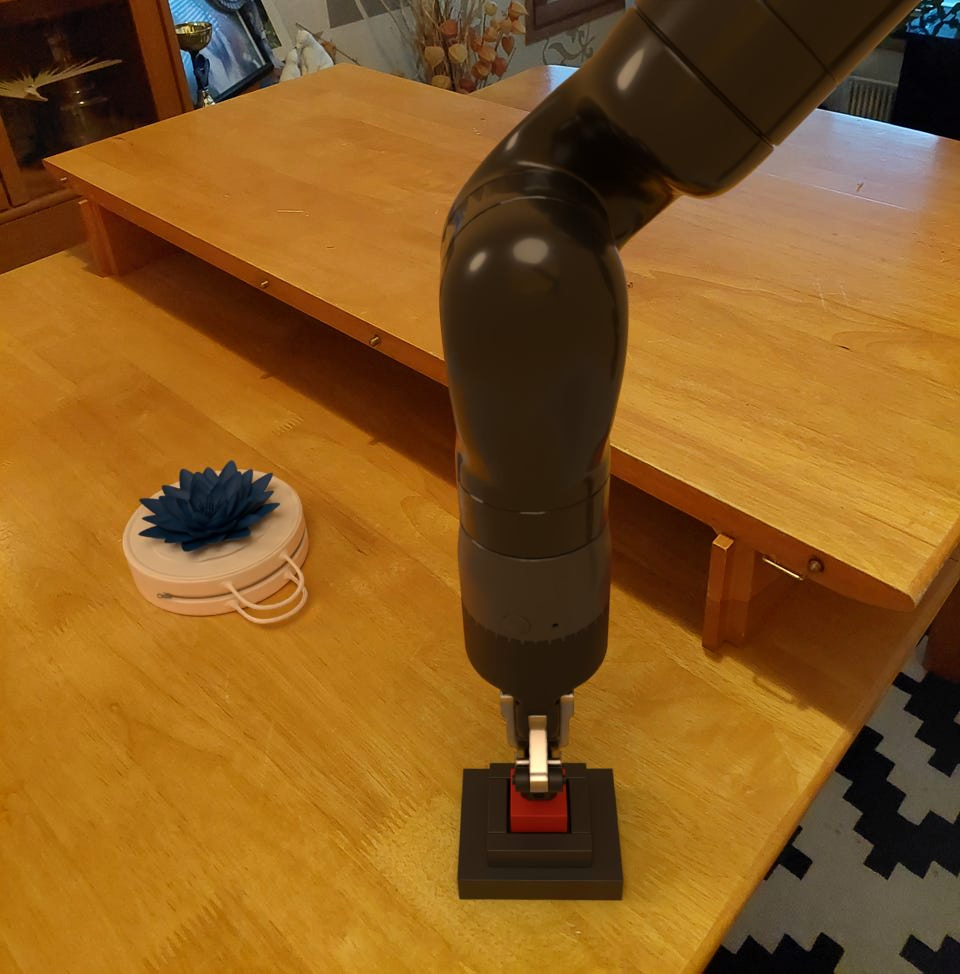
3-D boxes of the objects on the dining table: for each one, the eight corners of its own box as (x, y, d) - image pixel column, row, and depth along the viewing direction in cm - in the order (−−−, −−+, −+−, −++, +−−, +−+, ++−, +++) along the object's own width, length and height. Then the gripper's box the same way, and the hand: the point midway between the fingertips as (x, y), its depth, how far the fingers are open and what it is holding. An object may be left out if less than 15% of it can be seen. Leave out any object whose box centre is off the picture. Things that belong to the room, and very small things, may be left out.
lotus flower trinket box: (85, 493, 81) (183, 614, 68) (244, 425, 89) (359, 523, 76) (107, 552, 85) (204, 676, 73) (257, 483, 93) (369, 585, 80)
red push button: (611, 787, 63) (613, 751, 61) (622, 900, 57) (625, 864, 54) (465, 787, 64) (461, 751, 61) (459, 899, 57) (455, 864, 55)
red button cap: (564, 785, 59) (564, 768, 58) (566, 833, 56) (567, 816, 55) (511, 784, 59) (510, 768, 58) (511, 832, 57) (510, 816, 56)
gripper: (622, 683, 41) (608, 892, 51) (600, 498, 51) (593, 703, 62) (452, 684, 41) (473, 891, 52) (465, 500, 52) (480, 703, 62)
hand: (538, 788), depth 57 cm, fingers closed
